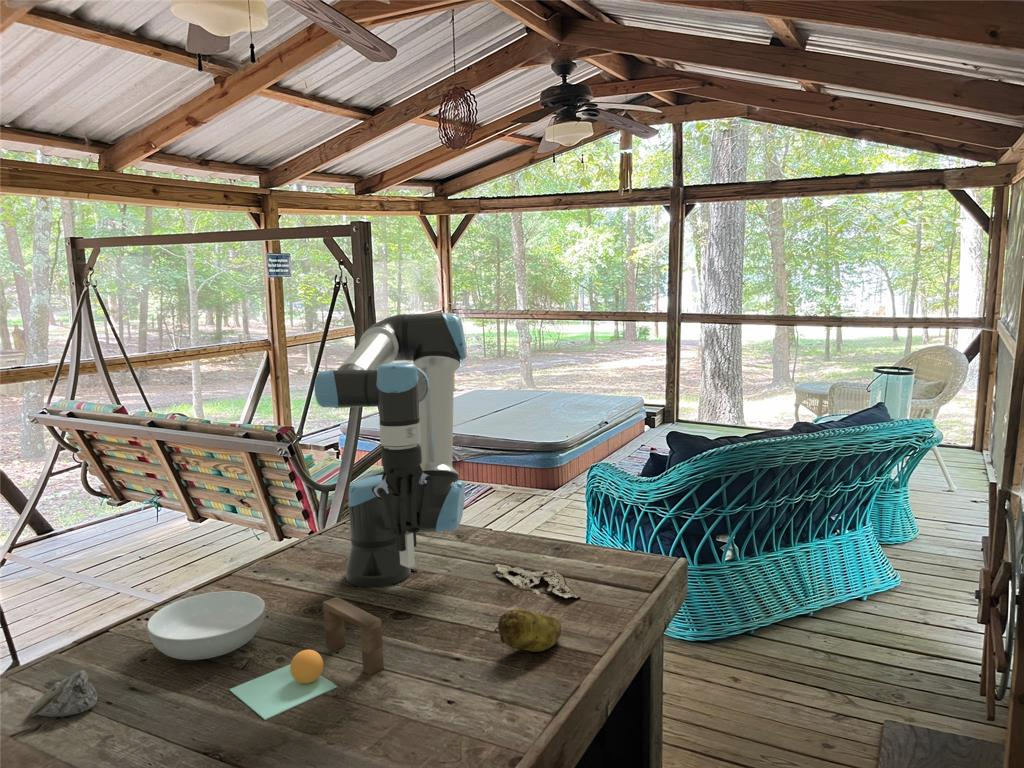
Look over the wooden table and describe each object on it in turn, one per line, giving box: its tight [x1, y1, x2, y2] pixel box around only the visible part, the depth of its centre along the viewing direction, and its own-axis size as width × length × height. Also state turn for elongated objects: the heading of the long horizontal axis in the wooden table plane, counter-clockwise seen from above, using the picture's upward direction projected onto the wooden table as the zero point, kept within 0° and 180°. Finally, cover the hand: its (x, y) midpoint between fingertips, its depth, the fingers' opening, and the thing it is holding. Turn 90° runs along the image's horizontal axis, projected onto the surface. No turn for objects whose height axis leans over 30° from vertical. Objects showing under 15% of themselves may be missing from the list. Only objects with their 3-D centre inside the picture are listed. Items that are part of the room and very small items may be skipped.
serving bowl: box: [146, 590, 266, 661], centre depth 142 cm, size 21×21×7 cm
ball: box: [290, 649, 324, 684], centre depth 128 cm, size 6×6×6 cm
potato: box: [497, 608, 562, 653], centre depth 136 cm, size 8×13×8 cm, turn 107°
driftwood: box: [493, 563, 581, 599], centre depth 166 cm, size 25×10×5 cm
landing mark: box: [228, 663, 338, 721], centre depth 126 cm, size 13×13×1 cm
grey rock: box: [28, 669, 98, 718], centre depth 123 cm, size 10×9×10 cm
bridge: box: [322, 596, 385, 676], centre depth 135 cm, size 3×14×9 cm, turn 45°
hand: (407, 565), depth 143 cm, fingers closed
